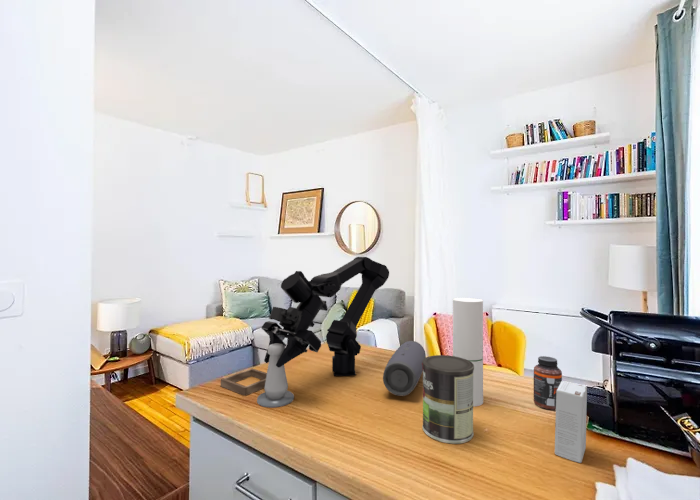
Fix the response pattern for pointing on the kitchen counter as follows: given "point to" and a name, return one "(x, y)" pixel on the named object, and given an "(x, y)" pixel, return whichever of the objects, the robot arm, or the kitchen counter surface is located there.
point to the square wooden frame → (238, 388)
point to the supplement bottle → (546, 382)
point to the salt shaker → (275, 374)
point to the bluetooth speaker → (404, 368)
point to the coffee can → (448, 398)
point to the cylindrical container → (470, 339)
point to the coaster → (267, 402)
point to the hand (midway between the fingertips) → (271, 364)
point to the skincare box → (570, 421)
